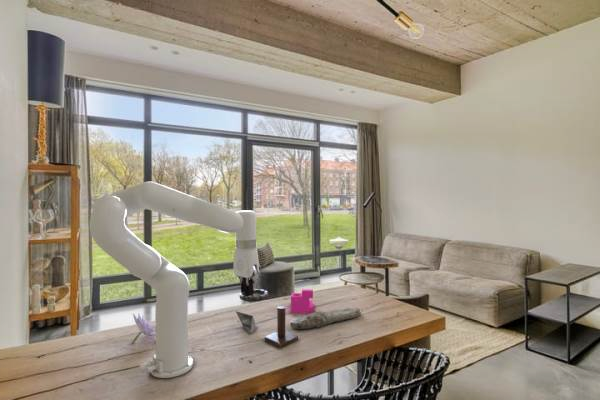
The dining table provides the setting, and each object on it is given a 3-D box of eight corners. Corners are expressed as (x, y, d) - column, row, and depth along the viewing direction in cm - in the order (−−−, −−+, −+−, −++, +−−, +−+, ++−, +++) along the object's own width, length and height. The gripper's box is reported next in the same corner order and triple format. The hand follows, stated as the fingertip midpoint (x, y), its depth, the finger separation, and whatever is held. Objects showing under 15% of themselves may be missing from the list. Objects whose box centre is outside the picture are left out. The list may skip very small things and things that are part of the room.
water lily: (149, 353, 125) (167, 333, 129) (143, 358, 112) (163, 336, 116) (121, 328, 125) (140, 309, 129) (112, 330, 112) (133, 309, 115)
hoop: (251, 304, 106) (251, 299, 106) (233, 297, 113) (233, 293, 113) (274, 297, 114) (274, 292, 113) (256, 291, 121) (256, 287, 121)
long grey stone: (366, 320, 142) (352, 314, 151) (366, 308, 142) (352, 303, 151) (296, 332, 126) (285, 325, 134) (297, 319, 126) (286, 312, 135)
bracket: (313, 313, 149) (312, 291, 148) (290, 313, 149) (290, 291, 149) (312, 304, 161) (312, 283, 160) (291, 304, 161) (291, 283, 161)
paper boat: (265, 326, 131) (250, 327, 124) (256, 337, 132) (241, 340, 124) (249, 305, 138) (234, 305, 131) (241, 316, 139) (226, 317, 131)
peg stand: (280, 348, 114) (280, 313, 114) (264, 340, 121) (264, 307, 120) (298, 340, 121) (298, 307, 121) (282, 333, 127) (281, 301, 127)
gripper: (225, 243, 119) (226, 292, 119) (251, 248, 108) (252, 302, 108) (242, 241, 124) (242, 288, 125) (268, 245, 113) (269, 297, 114)
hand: (247, 294), depth 116 cm, fingers closed on hoop, 2 cm apart
